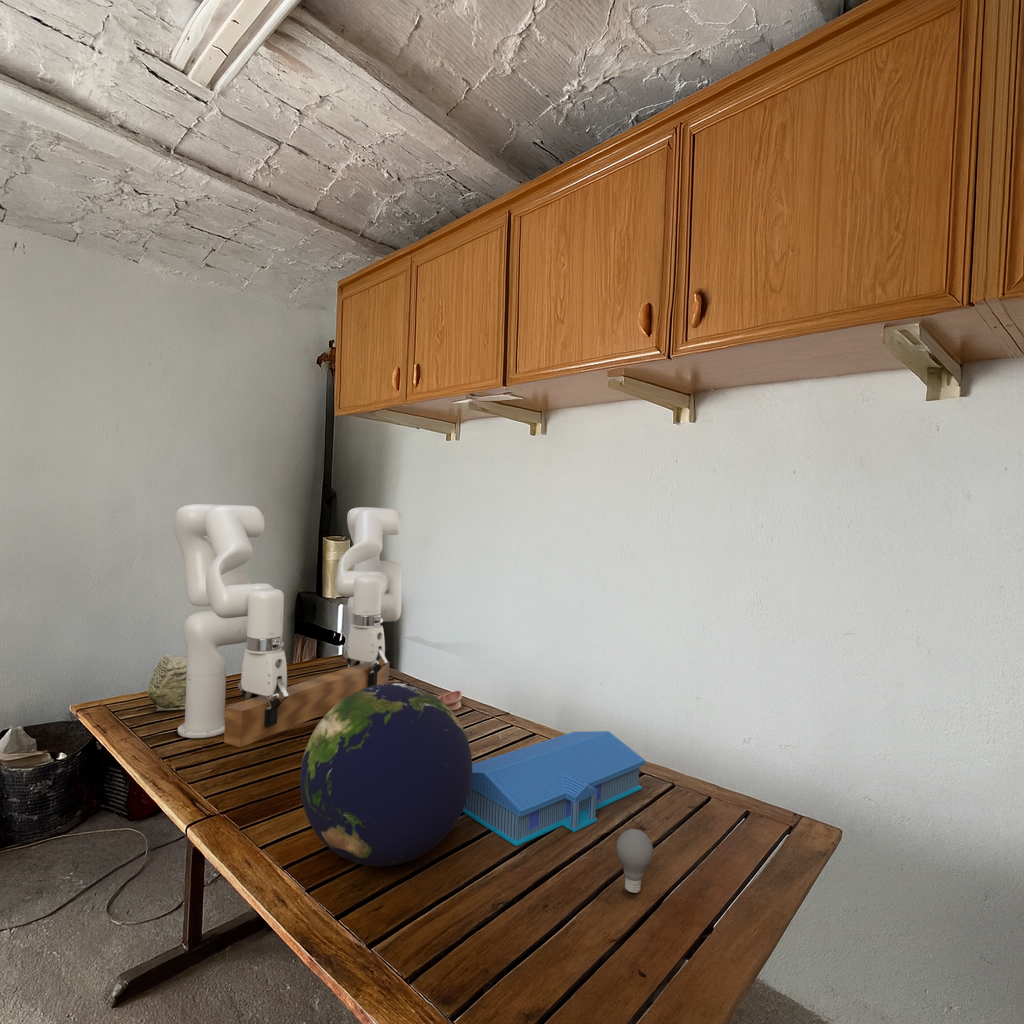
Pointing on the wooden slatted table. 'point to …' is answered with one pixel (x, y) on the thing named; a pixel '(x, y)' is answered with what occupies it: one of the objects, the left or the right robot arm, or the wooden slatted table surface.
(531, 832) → the model building
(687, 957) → the wooden slatted table surface
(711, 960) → the wooden slatted table surface
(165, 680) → the fossil
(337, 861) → the wooden slatted table surface
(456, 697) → the anatomical model
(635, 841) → the light bulb
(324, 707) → the post
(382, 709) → the globe
